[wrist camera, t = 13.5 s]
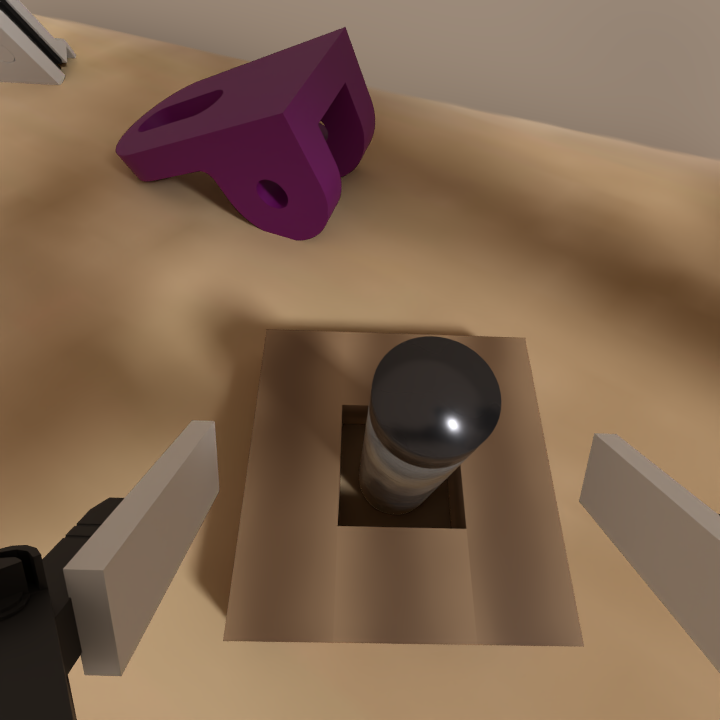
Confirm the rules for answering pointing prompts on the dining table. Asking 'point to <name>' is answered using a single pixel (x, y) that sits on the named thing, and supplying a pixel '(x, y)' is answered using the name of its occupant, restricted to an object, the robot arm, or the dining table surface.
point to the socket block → (394, 544)
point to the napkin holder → (29, 48)
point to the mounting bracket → (265, 134)
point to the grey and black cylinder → (424, 420)
